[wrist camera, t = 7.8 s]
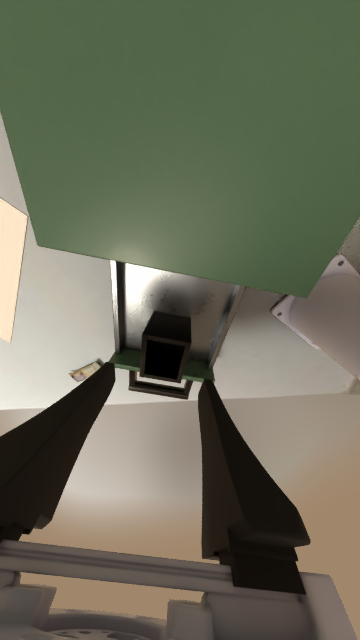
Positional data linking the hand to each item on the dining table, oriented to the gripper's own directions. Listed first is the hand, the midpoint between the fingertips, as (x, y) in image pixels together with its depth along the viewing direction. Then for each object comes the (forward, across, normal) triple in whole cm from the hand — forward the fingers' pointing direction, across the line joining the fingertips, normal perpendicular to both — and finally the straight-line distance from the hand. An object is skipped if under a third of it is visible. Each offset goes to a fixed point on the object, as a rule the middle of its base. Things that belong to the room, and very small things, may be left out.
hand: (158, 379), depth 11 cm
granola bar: (+9, +13, +12) cm, 20 cm away
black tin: (+7, 0, 0) cm, 7 cm away
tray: (+8, 0, +1) cm, 8 cm away
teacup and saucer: (+9, +29, -5) cm, 31 cm away
